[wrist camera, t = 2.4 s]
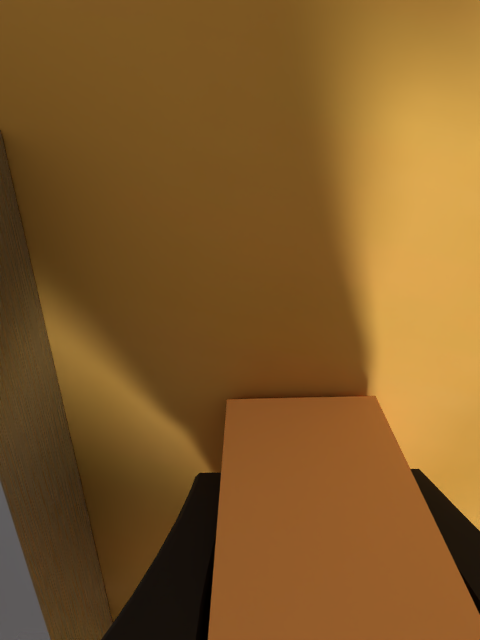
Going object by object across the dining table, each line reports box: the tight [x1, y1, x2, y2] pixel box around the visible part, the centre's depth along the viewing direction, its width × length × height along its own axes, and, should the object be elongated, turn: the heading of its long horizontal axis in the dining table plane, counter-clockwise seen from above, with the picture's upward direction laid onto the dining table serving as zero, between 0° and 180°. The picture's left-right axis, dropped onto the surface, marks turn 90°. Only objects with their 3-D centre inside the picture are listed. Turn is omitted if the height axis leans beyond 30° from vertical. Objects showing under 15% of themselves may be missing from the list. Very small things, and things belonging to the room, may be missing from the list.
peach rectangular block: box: [208, 396, 480, 640], centre depth 8 cm, size 4×4×7 cm
